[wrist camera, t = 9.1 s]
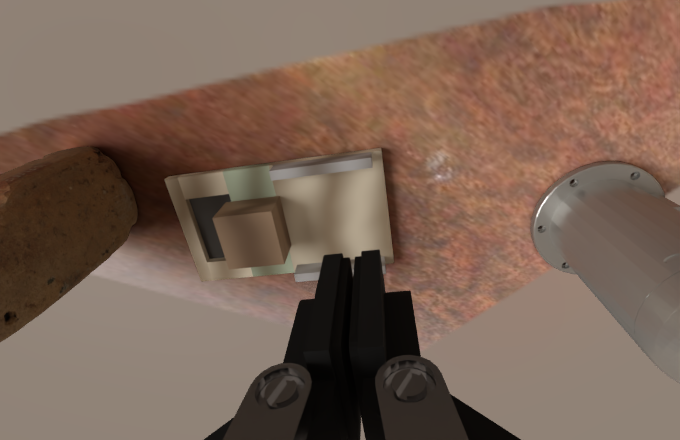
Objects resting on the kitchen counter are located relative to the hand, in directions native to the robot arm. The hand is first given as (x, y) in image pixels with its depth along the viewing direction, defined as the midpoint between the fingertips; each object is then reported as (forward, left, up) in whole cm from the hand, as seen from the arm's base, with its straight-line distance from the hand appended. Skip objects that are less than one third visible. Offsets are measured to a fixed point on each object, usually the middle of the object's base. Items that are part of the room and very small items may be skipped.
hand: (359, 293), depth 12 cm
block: (+30, +4, -29) cm, 42 cm away
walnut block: (+13, +10, -28) cm, 33 cm away
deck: (+10, +10, -29) cm, 33 cm away
